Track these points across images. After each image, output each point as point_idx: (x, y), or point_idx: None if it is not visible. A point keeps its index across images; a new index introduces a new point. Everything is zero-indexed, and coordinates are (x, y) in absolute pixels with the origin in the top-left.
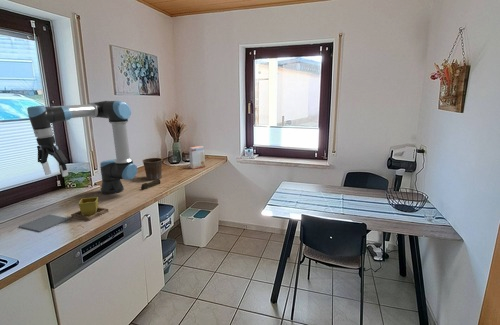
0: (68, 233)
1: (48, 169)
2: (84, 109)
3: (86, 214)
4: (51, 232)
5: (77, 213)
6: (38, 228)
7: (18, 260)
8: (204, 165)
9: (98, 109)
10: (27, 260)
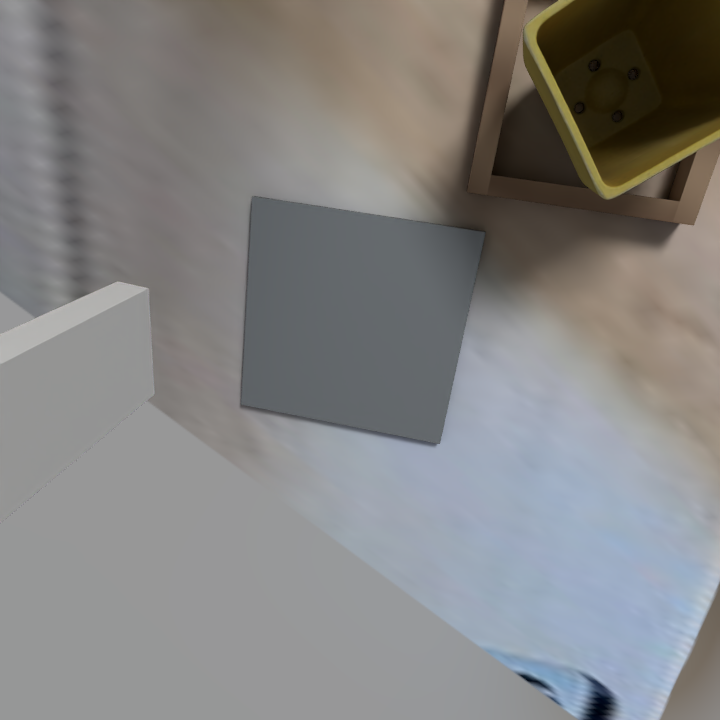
0: (650, 432)
1: (61, 377)
2: None
3: (612, 152)
4: (517, 434)
5: (497, 142)
6: (397, 415)
7: (588, 676)
8: None
9: None
10: (633, 676)
